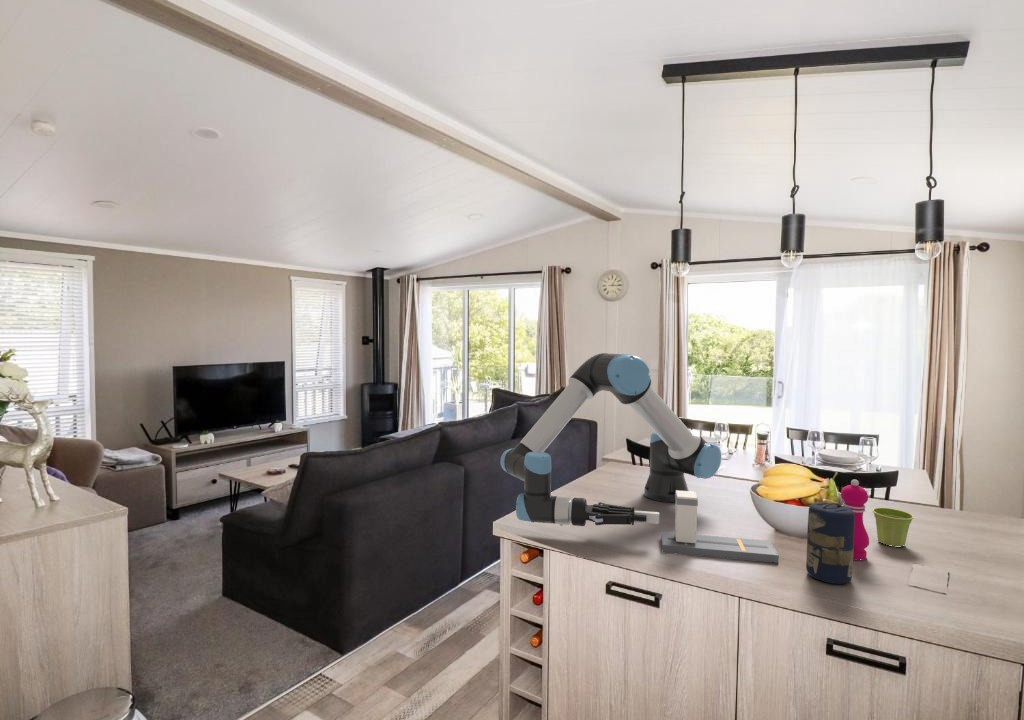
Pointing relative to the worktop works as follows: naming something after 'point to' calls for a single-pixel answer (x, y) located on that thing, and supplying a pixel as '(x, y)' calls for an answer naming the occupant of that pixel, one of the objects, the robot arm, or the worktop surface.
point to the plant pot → (892, 525)
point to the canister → (830, 542)
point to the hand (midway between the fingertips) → (659, 518)
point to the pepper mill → (857, 516)
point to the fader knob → (686, 516)
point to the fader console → (721, 547)
